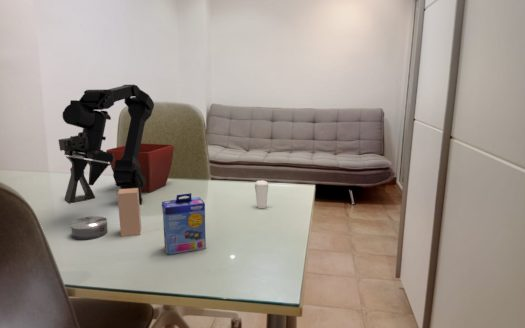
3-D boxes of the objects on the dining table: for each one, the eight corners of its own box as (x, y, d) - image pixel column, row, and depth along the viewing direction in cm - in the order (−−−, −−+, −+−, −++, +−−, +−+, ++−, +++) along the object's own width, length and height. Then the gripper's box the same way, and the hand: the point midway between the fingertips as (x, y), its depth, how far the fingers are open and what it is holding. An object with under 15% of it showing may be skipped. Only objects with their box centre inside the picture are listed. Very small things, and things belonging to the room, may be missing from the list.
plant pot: (150, 196, 142) (147, 151, 138) (108, 192, 147) (104, 149, 144) (177, 184, 159) (175, 144, 156) (138, 181, 165) (135, 143, 162)
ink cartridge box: (167, 256, 90) (163, 197, 87) (163, 247, 95) (159, 191, 92) (207, 248, 94) (205, 192, 91) (201, 241, 99) (199, 187, 96)
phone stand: (69, 203, 133) (65, 170, 131) (64, 199, 138) (60, 167, 136) (95, 198, 139) (92, 166, 137) (90, 195, 144) (87, 164, 141)
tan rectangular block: (141, 228, 109) (138, 187, 106) (140, 234, 104) (137, 192, 101) (122, 230, 107) (119, 189, 105) (121, 236, 103) (117, 193, 100)
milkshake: (269, 209, 124) (269, 180, 122) (253, 208, 125) (253, 179, 123) (272, 205, 128) (271, 177, 127) (256, 204, 130) (256, 176, 128)
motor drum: (109, 226, 110) (108, 215, 109) (105, 238, 102) (104, 225, 101) (76, 229, 108) (74, 217, 107) (68, 241, 99) (67, 229, 99)
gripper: (51, 124, 112) (41, 176, 111) (81, 125, 100) (69, 184, 99) (88, 132, 120) (78, 180, 119) (119, 134, 108) (109, 188, 107)
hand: (83, 183), depth 111 cm, fingers open, 9 cm apart
